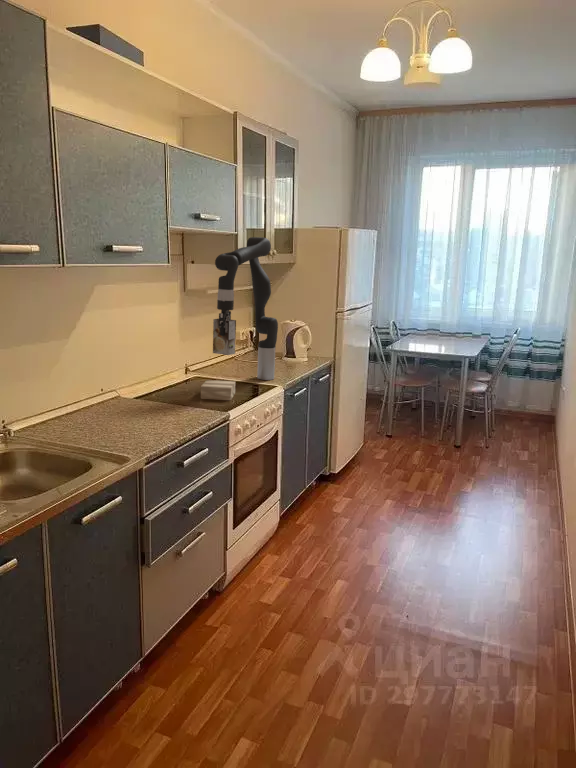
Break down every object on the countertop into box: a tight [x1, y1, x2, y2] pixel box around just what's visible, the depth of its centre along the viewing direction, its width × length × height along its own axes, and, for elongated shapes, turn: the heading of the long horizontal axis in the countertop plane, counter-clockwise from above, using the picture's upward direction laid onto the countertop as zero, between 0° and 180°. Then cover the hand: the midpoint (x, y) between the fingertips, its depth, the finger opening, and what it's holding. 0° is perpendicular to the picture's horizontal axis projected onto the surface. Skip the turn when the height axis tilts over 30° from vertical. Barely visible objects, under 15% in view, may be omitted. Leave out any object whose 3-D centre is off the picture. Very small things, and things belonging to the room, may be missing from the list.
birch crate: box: [200, 379, 237, 401], centre depth 268 cm, size 14×14×6 cm
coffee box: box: [212, 318, 237, 356], centre depth 264 cm, size 9×6×16 cm
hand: (224, 334), depth 264 cm, fingers closed on coffee box, 7 cm apart
